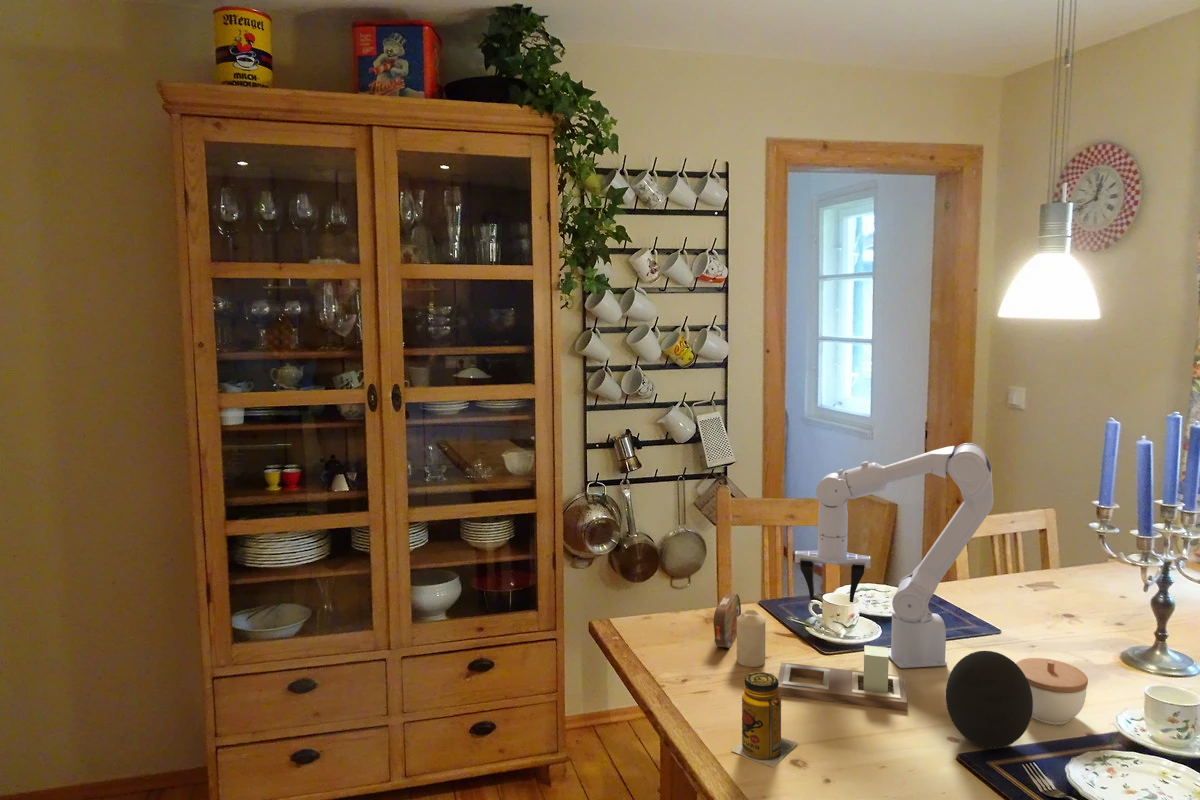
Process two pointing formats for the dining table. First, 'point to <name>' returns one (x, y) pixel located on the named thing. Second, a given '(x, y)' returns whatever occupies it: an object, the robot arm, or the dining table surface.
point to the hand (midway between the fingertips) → (831, 598)
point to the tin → (726, 620)
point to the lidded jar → (1054, 689)
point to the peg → (876, 669)
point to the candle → (751, 639)
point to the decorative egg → (989, 699)
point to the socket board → (840, 686)
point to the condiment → (762, 720)
